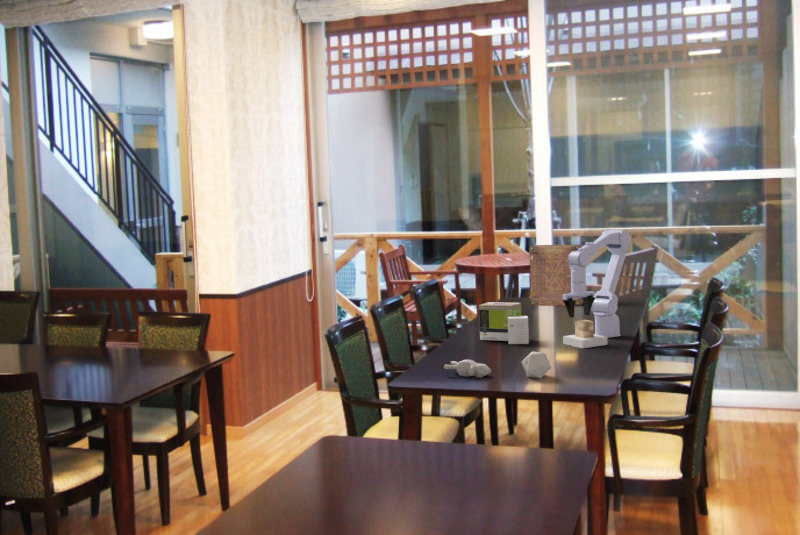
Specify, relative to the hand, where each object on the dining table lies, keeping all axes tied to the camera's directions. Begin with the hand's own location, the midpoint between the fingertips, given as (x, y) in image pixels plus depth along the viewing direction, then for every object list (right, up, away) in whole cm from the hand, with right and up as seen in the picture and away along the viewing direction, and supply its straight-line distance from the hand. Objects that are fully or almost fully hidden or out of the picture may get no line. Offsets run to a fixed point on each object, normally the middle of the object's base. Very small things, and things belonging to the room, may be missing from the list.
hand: (579, 316), depth 348 cm
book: (+10, 0, +103) cm, 103 cm away
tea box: (-29, -10, +14) cm, 34 cm away
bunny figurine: (-47, -18, -48) cm, 70 cm away
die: (-25, -17, -54) cm, 62 cm away
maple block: (+1, -8, -3) cm, 9 cm away
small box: (-23, -11, +5) cm, 26 cm away
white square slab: (+2, -11, -3) cm, 11 cm away
